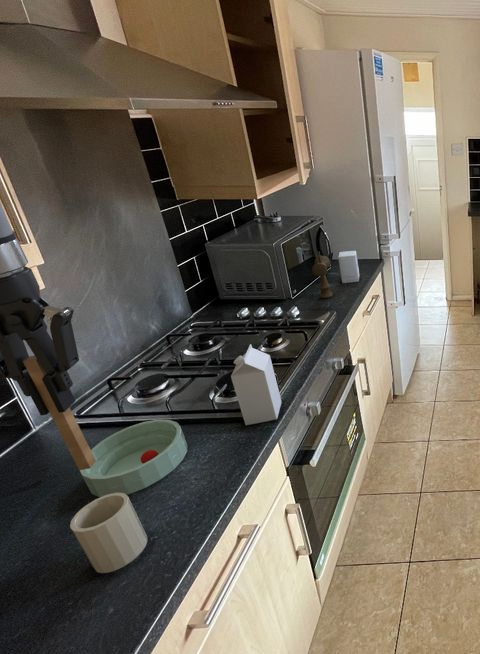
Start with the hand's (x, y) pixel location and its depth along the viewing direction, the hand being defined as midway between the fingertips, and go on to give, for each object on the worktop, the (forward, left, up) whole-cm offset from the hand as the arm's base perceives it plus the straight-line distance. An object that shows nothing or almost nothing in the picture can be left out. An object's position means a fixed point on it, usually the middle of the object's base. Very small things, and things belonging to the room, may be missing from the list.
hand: (58, 407), depth 67 cm
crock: (+2, -5, -29) cm, 30 cm away
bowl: (-4, +17, -29) cm, 34 cm away
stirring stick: (0, 0, -12) cm, 12 cm away
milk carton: (+18, +28, -30) cm, 45 cm away
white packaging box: (+36, +115, -30) cm, 124 cm away
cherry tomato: (-2, +17, -27) cm, 32 cm away
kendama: (+27, +99, -30) cm, 107 cm away
